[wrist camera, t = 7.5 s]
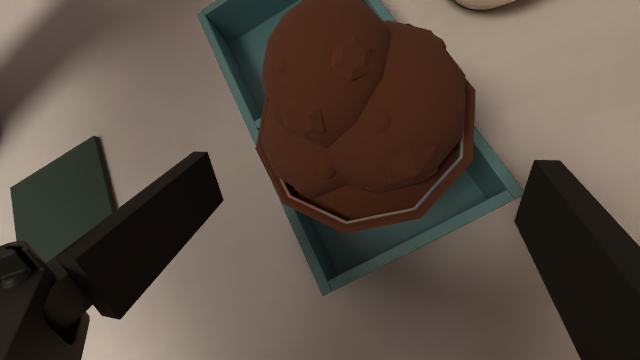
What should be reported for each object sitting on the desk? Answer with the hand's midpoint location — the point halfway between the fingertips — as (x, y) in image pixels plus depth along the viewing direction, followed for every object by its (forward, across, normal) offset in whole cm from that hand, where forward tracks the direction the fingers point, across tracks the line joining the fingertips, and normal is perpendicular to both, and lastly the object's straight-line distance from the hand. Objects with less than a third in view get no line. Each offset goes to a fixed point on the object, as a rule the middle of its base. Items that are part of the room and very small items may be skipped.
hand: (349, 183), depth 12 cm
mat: (+7, -32, -10) cm, 34 cm away
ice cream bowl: (+10, 0, -5) cm, 12 cm away
